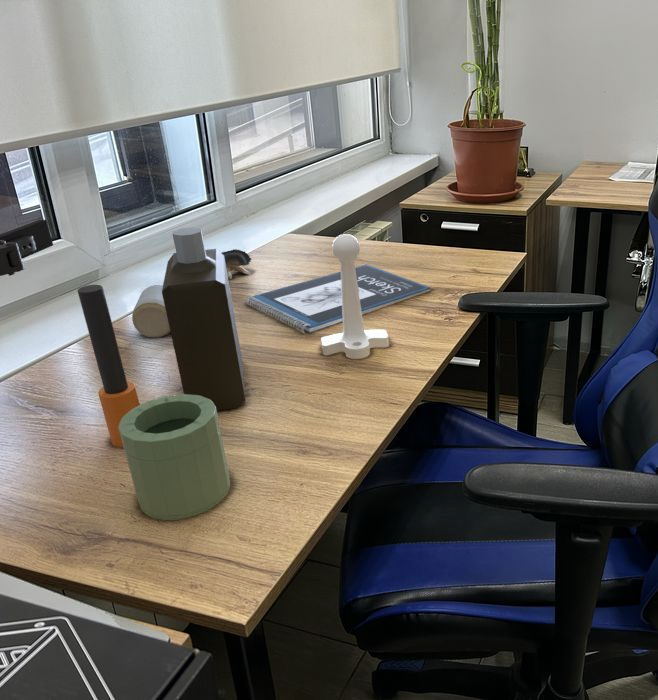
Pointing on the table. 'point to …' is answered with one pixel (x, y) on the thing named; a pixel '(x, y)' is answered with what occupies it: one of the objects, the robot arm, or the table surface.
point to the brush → (107, 361)
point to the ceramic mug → (151, 313)
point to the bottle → (203, 321)
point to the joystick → (351, 308)
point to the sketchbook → (334, 298)
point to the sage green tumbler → (175, 456)
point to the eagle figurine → (236, 261)
